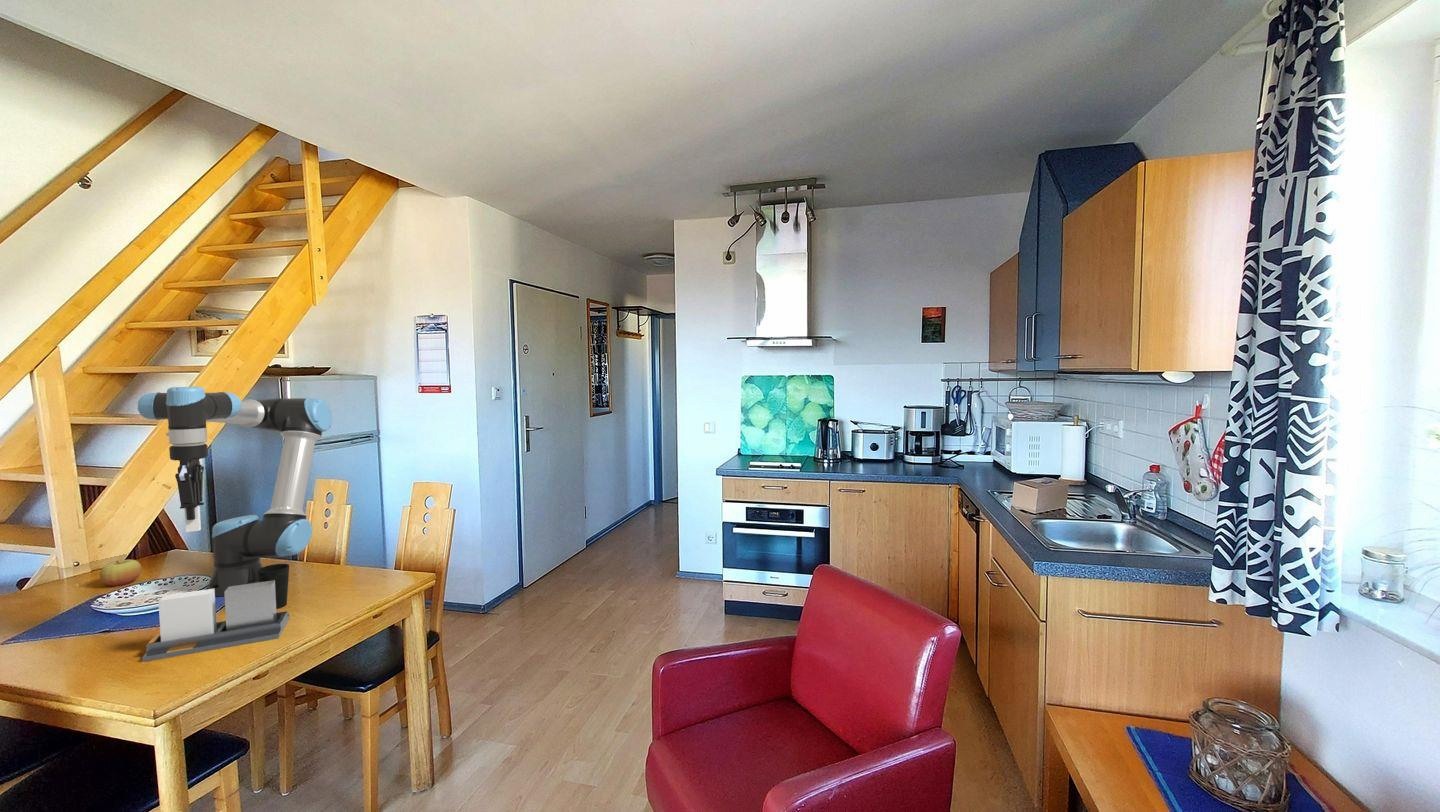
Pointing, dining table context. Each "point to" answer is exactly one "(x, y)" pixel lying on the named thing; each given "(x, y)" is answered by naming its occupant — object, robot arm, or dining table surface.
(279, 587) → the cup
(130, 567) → the apple
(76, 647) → the dining table surface
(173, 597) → the block
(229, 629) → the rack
